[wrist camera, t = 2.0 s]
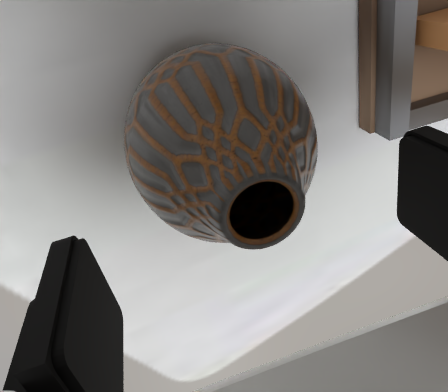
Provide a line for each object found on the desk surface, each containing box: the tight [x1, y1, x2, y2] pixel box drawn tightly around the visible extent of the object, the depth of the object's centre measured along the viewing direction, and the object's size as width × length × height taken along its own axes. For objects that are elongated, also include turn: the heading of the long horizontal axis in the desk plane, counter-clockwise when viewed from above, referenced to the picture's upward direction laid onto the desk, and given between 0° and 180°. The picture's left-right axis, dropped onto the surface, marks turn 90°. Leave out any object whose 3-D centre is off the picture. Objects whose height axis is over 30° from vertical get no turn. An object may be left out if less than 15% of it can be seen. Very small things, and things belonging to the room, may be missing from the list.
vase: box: [124, 43, 317, 249], centre depth 13 cm, size 7×7×9 cm
